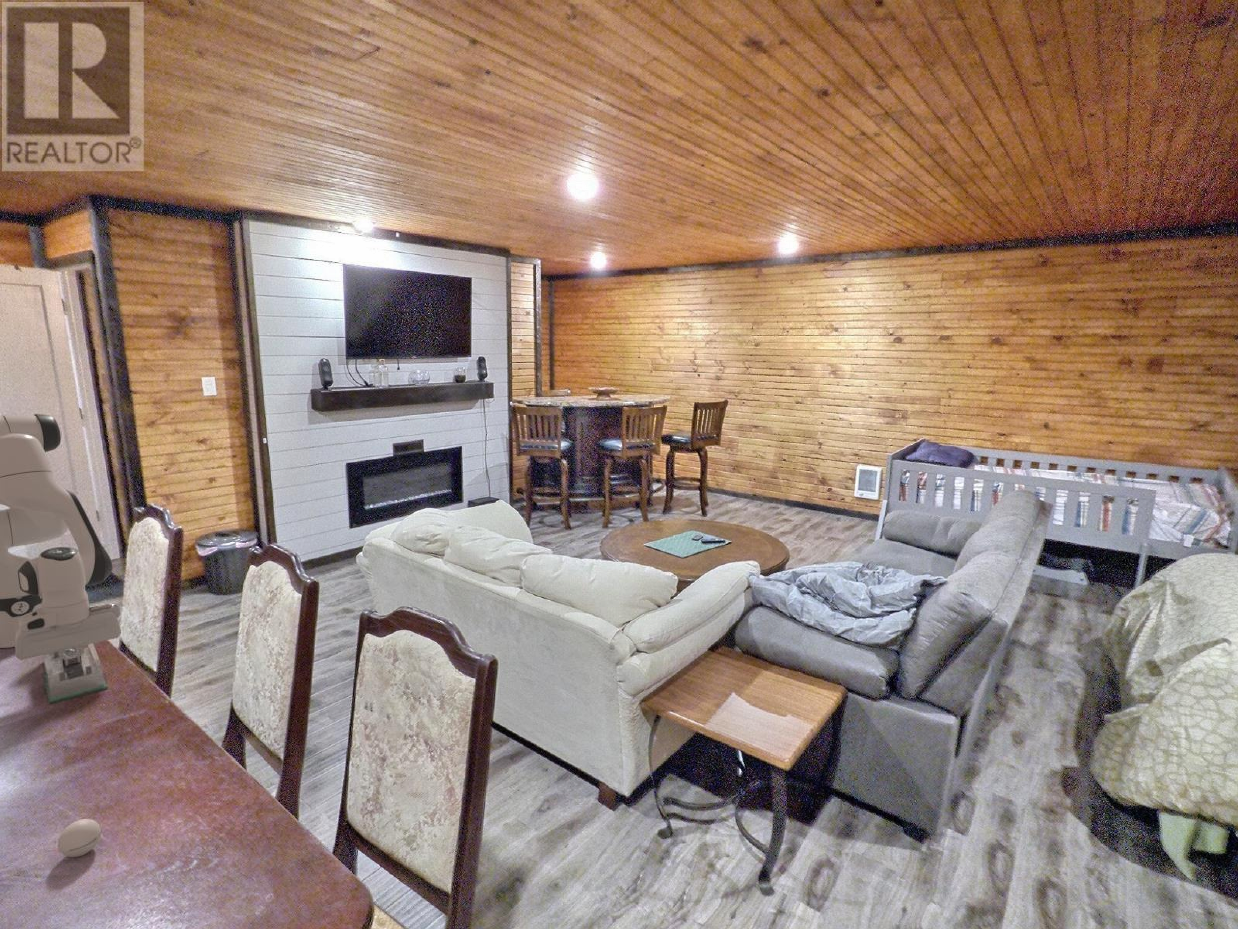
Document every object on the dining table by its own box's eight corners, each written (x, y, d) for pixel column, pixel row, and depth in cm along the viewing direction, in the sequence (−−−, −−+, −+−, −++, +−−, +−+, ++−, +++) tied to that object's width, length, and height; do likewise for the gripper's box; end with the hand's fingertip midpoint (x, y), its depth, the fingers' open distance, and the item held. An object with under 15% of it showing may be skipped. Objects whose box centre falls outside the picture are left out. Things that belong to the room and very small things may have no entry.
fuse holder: (43, 673, 166) (39, 649, 165) (96, 660, 174) (94, 637, 173) (49, 704, 152) (45, 679, 150) (107, 688, 159) (104, 664, 158)
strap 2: (83, 674, 157) (83, 670, 157) (67, 678, 155) (67, 674, 155) (80, 662, 162) (79, 658, 162) (64, 665, 160) (64, 662, 160)
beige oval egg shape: (57, 871, 103) (53, 840, 102) (61, 849, 108) (57, 820, 107) (117, 850, 108) (113, 821, 107) (118, 830, 112) (115, 802, 111)
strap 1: (61, 654, 167) (61, 651, 167) (76, 651, 169) (76, 647, 169) (64, 662, 162) (63, 659, 161) (79, 659, 164) (78, 655, 164)
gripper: (117, 598, 167) (122, 647, 170) (10, 619, 153) (18, 672, 155) (120, 605, 163) (126, 655, 165) (11, 627, 149) (19, 681, 151)
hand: (72, 663), depth 160 cm, fingers closed, pressing on strap 2
